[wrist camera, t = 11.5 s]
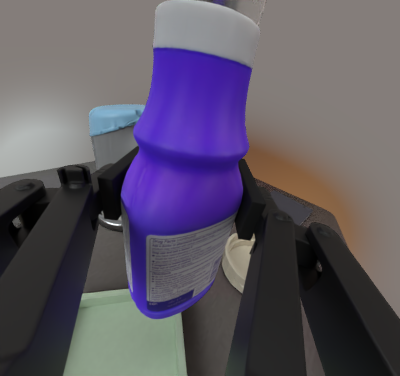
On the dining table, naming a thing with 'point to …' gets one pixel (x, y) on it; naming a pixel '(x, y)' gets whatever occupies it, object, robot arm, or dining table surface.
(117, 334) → the tray
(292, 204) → the notebook
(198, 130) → the bottle
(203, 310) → the dining table surface
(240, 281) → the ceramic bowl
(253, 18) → the robot arm
